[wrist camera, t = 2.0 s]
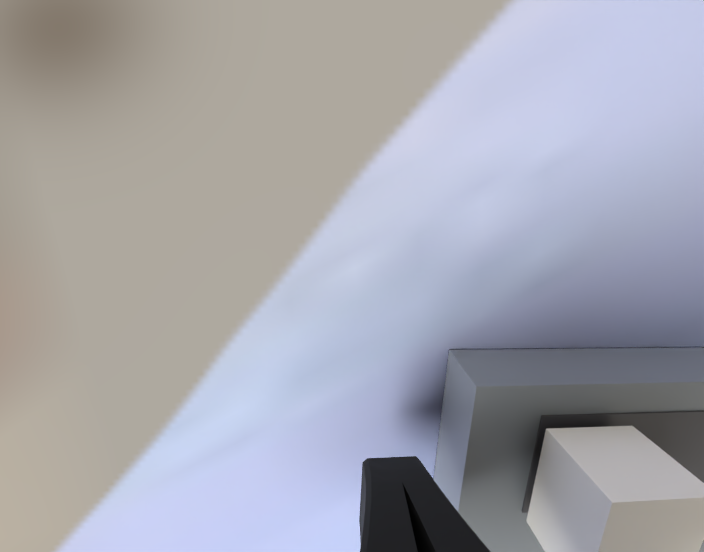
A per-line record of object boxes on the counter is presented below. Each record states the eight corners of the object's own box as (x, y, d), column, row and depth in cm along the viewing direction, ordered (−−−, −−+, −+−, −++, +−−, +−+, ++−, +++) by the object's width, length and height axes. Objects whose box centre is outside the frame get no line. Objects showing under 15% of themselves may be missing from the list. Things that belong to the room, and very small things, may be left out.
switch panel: (648, 607, 16) (699, 674, 14) (414, 628, 15) (431, 704, 13) (740, 346, 12) (825, 382, 10) (448, 349, 11) (479, 390, 9)
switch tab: (606, 516, 11) (679, 602, 8) (526, 521, 10) (581, 611, 8) (632, 425, 10) (720, 495, 8) (545, 428, 9) (612, 502, 7)
